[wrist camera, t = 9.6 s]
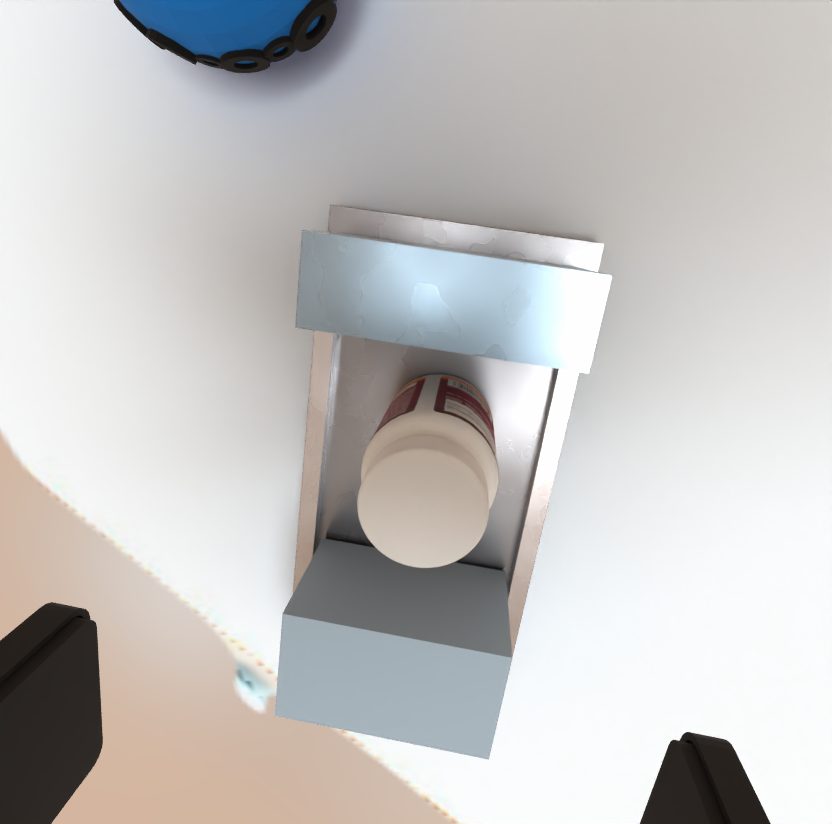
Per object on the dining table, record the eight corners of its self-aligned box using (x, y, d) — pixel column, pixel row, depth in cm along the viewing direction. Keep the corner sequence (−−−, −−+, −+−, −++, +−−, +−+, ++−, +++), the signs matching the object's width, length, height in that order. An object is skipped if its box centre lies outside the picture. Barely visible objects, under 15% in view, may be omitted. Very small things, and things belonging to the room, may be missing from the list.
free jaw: (322, 538, 27) (282, 613, 21) (505, 571, 26) (512, 658, 21) (314, 624, 28) (275, 715, 23) (486, 657, 28) (488, 759, 22)
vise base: (337, 206, 24) (279, 191, 17) (598, 243, 23) (648, 244, 16) (299, 633, 30) (246, 747, 23) (500, 672, 30) (506, 801, 23)
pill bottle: (395, 478, 26) (357, 585, 18) (379, 378, 24) (330, 444, 16) (499, 469, 25) (508, 576, 17) (488, 366, 24) (493, 429, 16)
